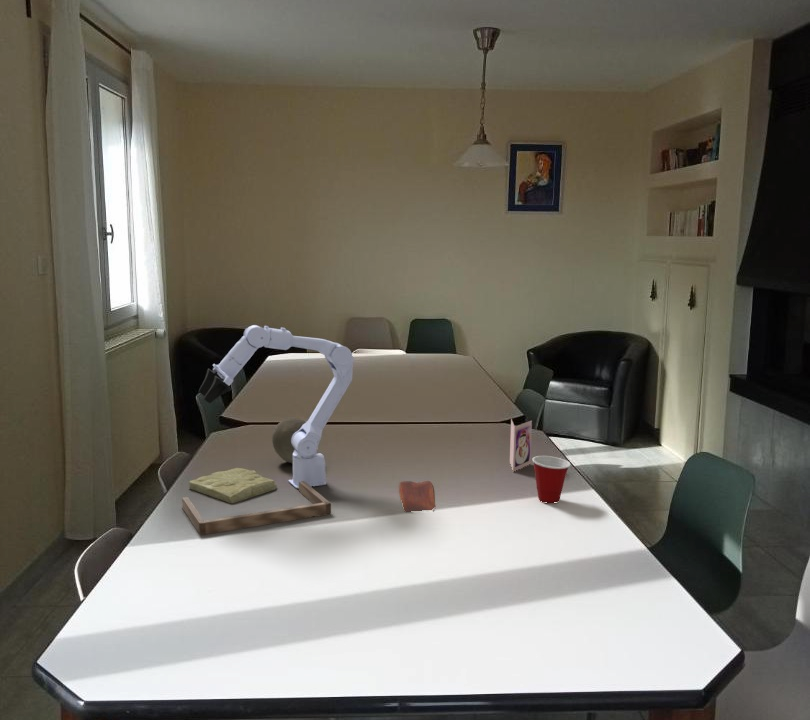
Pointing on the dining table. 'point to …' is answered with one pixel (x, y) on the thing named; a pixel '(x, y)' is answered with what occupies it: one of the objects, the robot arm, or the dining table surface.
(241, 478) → the decorative tile
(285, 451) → the cantaloupe
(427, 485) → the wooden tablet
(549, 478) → the plastic cup
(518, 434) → the greeting card
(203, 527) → the frame
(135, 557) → the dining table surface
